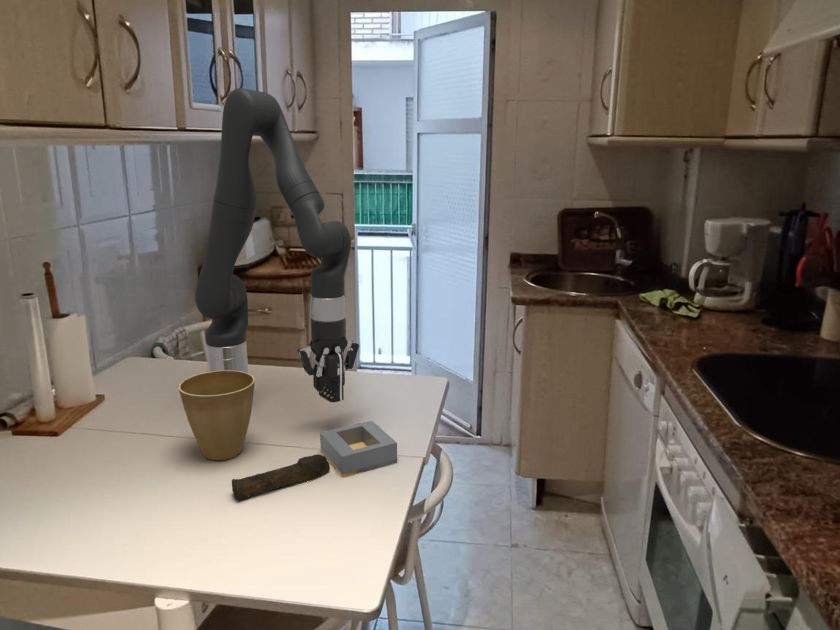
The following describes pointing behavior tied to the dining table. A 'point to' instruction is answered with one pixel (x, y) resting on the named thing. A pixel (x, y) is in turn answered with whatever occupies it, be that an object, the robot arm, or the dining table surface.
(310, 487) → the dining table surface
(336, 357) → the battery charger
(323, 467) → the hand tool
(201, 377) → the plant pot
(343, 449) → the dock
